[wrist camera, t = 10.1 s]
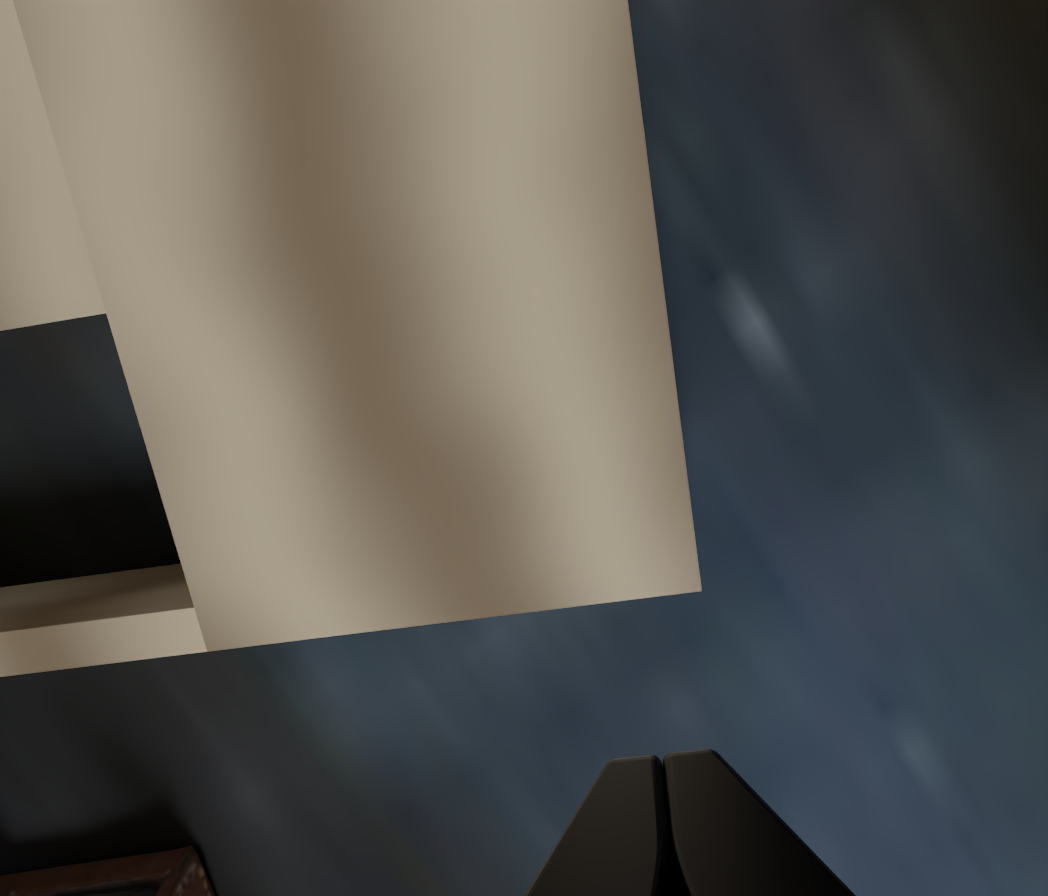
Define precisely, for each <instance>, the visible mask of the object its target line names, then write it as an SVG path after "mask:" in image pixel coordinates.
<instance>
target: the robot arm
mask: <svg viewBox="0 0 1048 896" xmlns="http://www.w3.org/2000/svg"><path fill="white" fill-rule="evenodd" d="M525 896H856V895H855V894H854V893H853V892H852V891H851V890H850V889H849V888H848V887H847V886H846V885H845V884H844V883H843V882H842V881H841V880H840V879H839V878H838V877H837V876H836V875H835V874H834V873H833V872H832V871H831V870H830V869H829V867H828V866H827V865H826V864H825V863H824V862H823V861H822V860H821V859H820V858H819V857H818V856H817V855H816V854H815V853H814V852H813V851H812V850H811V849H810V848H809V847H808V846H807V845H806V844H805V843H804V842H803V841H802V840H801V839H800V837H799V836H798V835H797V834H796V833H795V832H794V831H793V830H792V829H791V828H790V827H789V826H788V825H787V824H786V823H785V822H784V821H783V820H782V819H781V818H780V817H779V816H778V815H777V814H776V813H775V812H774V811H773V810H772V809H771V807H770V806H769V805H768V804H767V803H766V802H765V801H764V800H763V799H762V798H761V797H760V796H759V795H758V794H757V793H756V792H755V791H754V790H753V789H752V788H751V787H750V786H749V785H748V784H747V783H746V782H745V781H744V780H743V779H742V777H741V776H740V775H739V774H738V773H737V772H736V771H735V770H734V769H733V768H732V767H731V766H730V765H729V764H728V763H727V762H726V761H725V760H724V759H723V758H722V757H721V756H720V755H719V754H718V753H717V752H716V751H714V750H712V749H702V750H693V751H684V752H674V753H669V754H667V755H666V756H665V757H664V759H663V767H662V763H661V760H660V759H659V758H658V757H657V756H655V755H646V756H636V757H626V758H616V759H612V760H610V761H609V762H608V763H607V764H606V765H605V766H604V768H603V770H602V771H601V773H600V775H599V776H598V778H597V779H596V781H595V783H594V784H593V786H592V787H591V789H590V791H589V792H588V794H587V796H586V797H585V799H584V800H583V802H582V804H581V805H580V807H579V809H578V810H577V812H576V813H575V815H574V817H573V818H572V820H571V821H570V823H569V825H568V826H567V828H566V830H565V831H564V833H563V834H562V836H561V838H560V839H559V841H558V843H557V844H556V846H555V847H554V849H553V851H552V852H551V854H550V855H549V857H548V859H547V860H546V862H545V864H544V865H543V867H542V868H541V870H540V872H539V873H538V875H537V876H536V878H535V880H534V881H533V883H532V885H531V886H530V888H529V889H528V891H527V893H526V894H525Z"/></svg>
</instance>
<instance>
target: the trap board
mask: <svg viewBox="0 0 1048 896" xmlns="http://www.w3.org/2000/svg"><path fill="white" fill-rule="evenodd" d="M104 313H106V314H107V317H108V321H109V324H110V327H111V331H112V334H113V338H114V341H115V344H116V348H117V351H118V354H119V358H120V361H121V364H122V368H123V371H124V374H125V378H126V381H127V384H128V388H129V391H130V394H131V398H132V401H133V404H134V408H135V411H136V414H137V418H138V421H139V425H140V428H141V431H142V435H143V438H144V441H145V445H146V448H147V451H148V455H149V458H150V461H151V465H152V468H153V471H154V475H155V478H156V481H157V485H158V488H159V491H160V495H161V498H162V502H163V505H164V508H165V512H166V515H167V518H168V522H169V525H170V528H171V532H172V535H173V538H174V542H175V545H176V548H177V552H178V555H179V558H180V562H181V563H180V564H173V565H165V566H158V567H150V568H143V569H136V570H128V571H121V572H113V573H106V574H98V575H91V576H83V577H76V578H68V579H61V580H53V581H46V582H38V583H31V584H23V585H16V586H8V587H1V588H0V677H3V676H12V675H20V674H28V673H36V672H44V671H52V670H61V669H69V668H77V667H85V666H93V665H101V664H110V663H118V662H126V661H134V660H142V659H150V658H159V657H167V656H175V655H183V654H191V653H200V652H208V651H216V650H224V649H232V648H240V647H249V646H257V645H265V644H273V643H281V642H289V641H298V640H306V639H314V638H322V637H330V636H338V635H347V634H355V633H363V632H371V631H379V630H387V629H396V628H404V627H412V626H420V625H428V624H436V623H445V622H453V621H461V620H469V619H477V618H486V617H494V616H502V615H510V614H518V613H526V612H535V611H543V610H551V609H559V608H567V607H575V606H584V605H592V604H600V603H608V602H616V601H624V600H633V599H641V598H649V597H657V596H665V595H673V594H682V593H690V592H698V591H702V589H701V581H700V573H699V565H698V557H697V550H696V542H695V534H694V526H693V518H692V510H691V502H690V494H689V486H688V478H687V470H686V462H685V454H684V446H683V438H682V430H681V422H680V414H679V406H678V398H677V390H676V382H675V374H674V366H673V358H672V350H671V342H670V334H669V326H668V318H667V310H666V302H665V294H664V286H663V278H662V270H661V263H660V255H659V247H658V239H657V231H656V223H655V215H654V207H653V199H652V191H651V183H650V175H649V167H648V159H647V151H646V143H645V135H644V127H643V119H642V111H641V103H640V95H639V87H638V79H637V71H636V63H635V55H634V47H633V39H632V31H631V23H630V15H629V7H628V0H0V331H1V330H8V329H14V328H20V327H26V326H32V325H38V324H44V323H50V322H56V321H62V320H68V319H74V318H80V317H86V316H92V315H98V314H104Z"/></svg>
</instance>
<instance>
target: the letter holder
mask: <svg viewBox="0 0 1048 896" xmlns="http://www.w3.org/2000/svg"><path fill="white" fill-rule="evenodd" d="M0 896H215V895H214V892H213V890H212V887H211V884H210V882H209V880H208V878H207V876H206V873H205V870H204V867H203V865H202V863H201V861H200V859H199V857H198V855H197V852H196V851H195V849H194V848H193V847H192V846H187V847H183V848H179V849H174V850H167V851H161V852H154V853H148V854H140V855H133V856H126V857H120V858H113V859H106V860H99V861H93V862H86V863H79V864H73V865H66V866H59V867H52V868H45V869H39V870H32V871H26V872H20V873H13V874H6V875H0Z"/></svg>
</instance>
